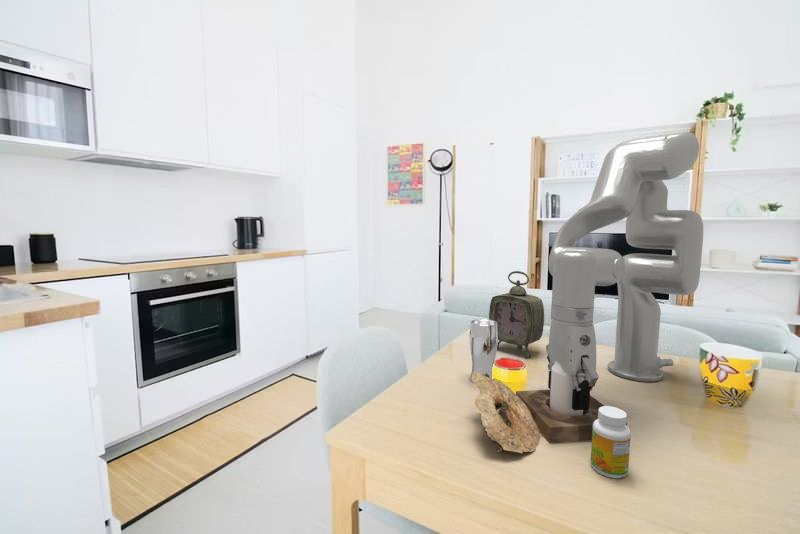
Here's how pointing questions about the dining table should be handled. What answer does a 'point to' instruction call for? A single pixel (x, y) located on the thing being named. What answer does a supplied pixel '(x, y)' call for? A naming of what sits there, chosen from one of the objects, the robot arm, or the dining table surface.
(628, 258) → the robot arm
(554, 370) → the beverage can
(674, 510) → the dining table surface
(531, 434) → the holed granite stone
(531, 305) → the tabletop clock
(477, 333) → the beer glass
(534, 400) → the can holder
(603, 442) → the supplement bottle
